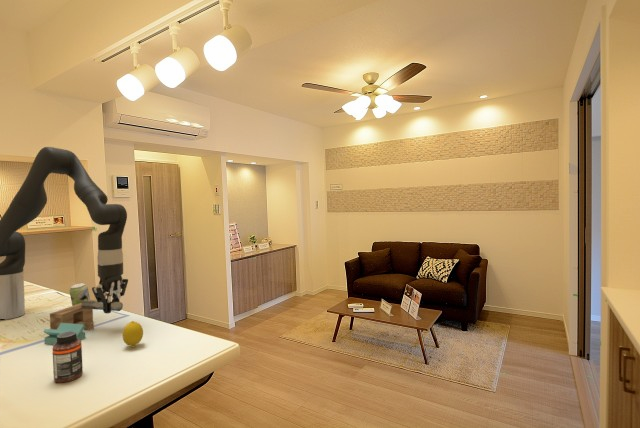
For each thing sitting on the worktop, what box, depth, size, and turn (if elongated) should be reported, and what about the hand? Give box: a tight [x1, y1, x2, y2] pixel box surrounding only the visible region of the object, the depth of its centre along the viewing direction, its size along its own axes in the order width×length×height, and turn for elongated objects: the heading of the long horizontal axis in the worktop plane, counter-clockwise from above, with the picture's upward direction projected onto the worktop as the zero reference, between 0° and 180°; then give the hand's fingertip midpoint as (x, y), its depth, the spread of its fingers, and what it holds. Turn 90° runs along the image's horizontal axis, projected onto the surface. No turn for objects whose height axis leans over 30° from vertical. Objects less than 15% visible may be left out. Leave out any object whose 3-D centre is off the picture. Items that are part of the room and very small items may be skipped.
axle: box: [81, 299, 124, 312], centre depth 118 cm, size 14×3×3 cm, turn 79°
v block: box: [42, 323, 86, 346], centre depth 109 cm, size 9×7×5 cm
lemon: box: [122, 320, 144, 348], centre depth 104 cm, size 6×6×8 cm
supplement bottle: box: [52, 331, 84, 383], centre depth 86 cm, size 6×6×11 cm
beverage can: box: [69, 282, 91, 306], centre depth 136 cm, size 6×7×12 cm
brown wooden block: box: [49, 303, 95, 331], centre depth 120 cm, size 10×12×7 cm
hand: (111, 311), depth 117 cm, fingers closed on axle, 3 cm apart
